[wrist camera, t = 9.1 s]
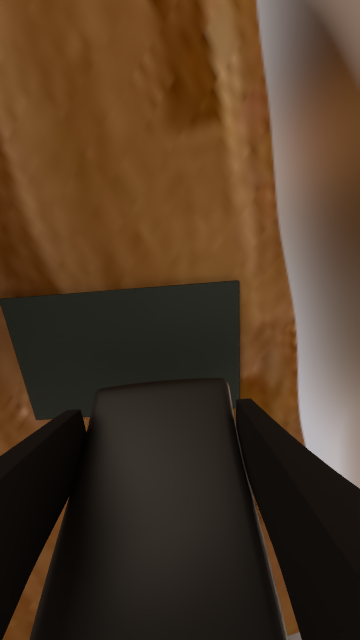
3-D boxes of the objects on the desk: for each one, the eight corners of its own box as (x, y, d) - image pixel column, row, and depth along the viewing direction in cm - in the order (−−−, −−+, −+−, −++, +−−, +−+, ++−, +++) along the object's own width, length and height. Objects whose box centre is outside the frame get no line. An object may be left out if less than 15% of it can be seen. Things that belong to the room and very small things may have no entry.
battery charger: (118, 405, 12) (43, 868, 5) (90, 383, 9) (-200, 1435, 2) (226, 396, 12) (323, 896, 4) (230, 370, 9) (537, 1693, 2)
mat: (39, 416, 19) (36, 420, 18) (4, 298, 16) (-2, 299, 16) (238, 404, 18) (239, 407, 18) (237, 280, 16) (239, 280, 15)
